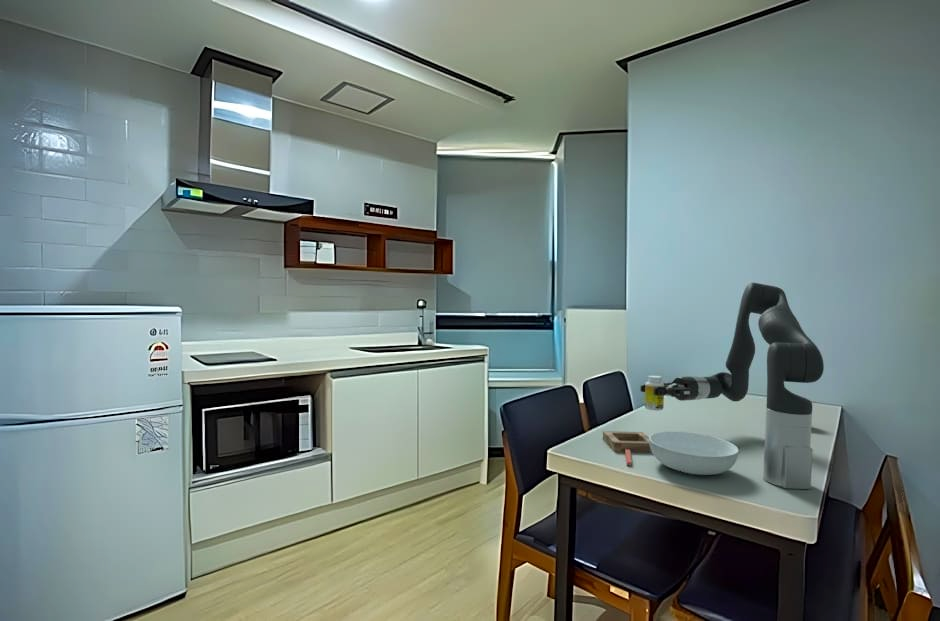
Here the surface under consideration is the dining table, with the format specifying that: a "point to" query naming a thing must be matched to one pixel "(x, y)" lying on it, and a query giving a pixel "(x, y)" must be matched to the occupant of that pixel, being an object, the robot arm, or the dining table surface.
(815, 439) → the dining table surface
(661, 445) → the serving bowl
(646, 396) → the supplement bottle
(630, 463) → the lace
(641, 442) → the brown wooden square frame
